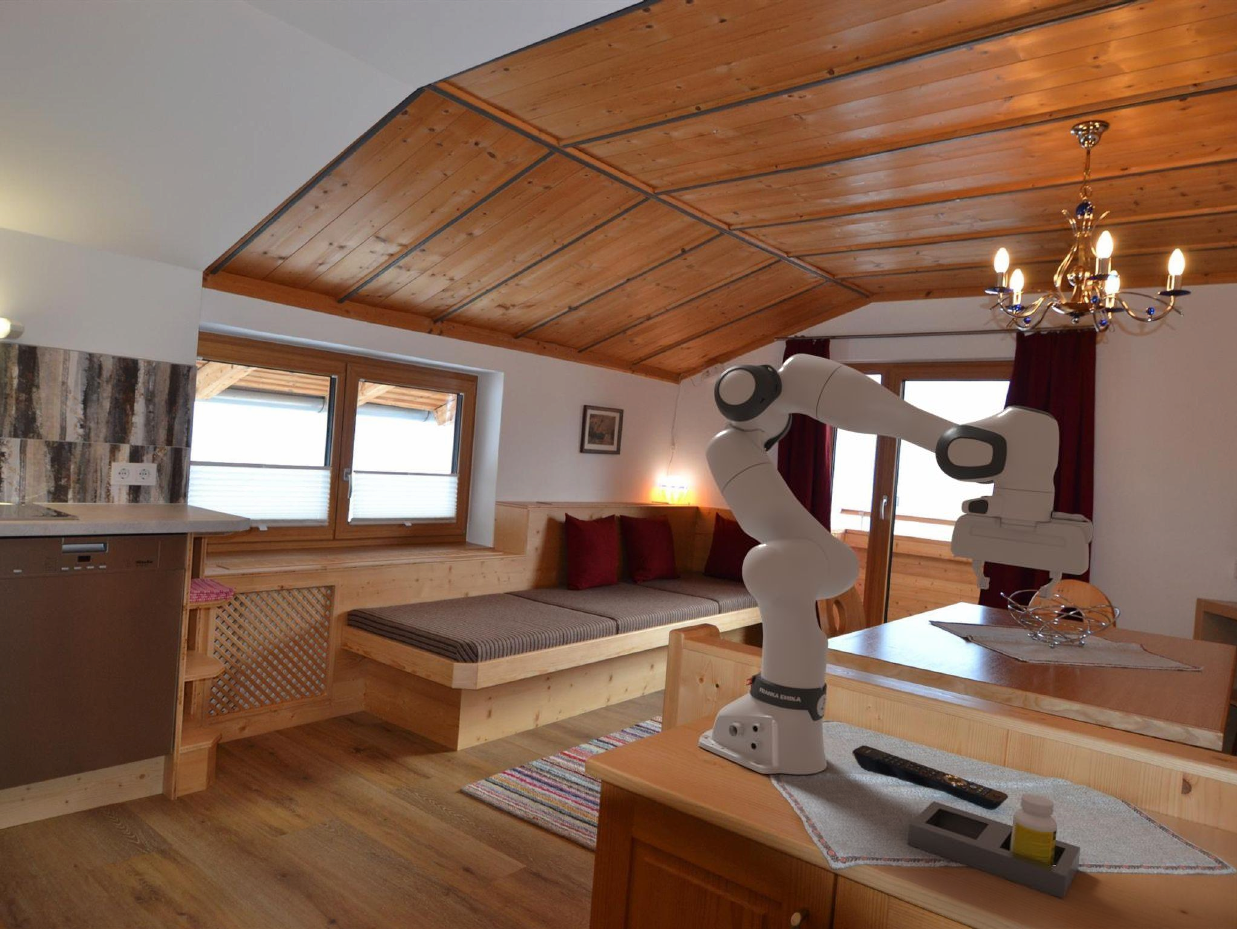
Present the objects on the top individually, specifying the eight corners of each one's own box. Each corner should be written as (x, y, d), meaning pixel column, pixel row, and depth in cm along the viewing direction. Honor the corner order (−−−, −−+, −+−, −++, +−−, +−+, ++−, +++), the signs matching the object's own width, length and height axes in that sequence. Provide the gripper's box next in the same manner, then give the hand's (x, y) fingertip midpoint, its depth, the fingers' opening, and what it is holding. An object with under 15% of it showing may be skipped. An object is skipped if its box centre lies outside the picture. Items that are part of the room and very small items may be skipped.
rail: (907, 844, 124) (909, 823, 124) (931, 820, 133) (933, 801, 132) (1063, 899, 112) (1065, 876, 112) (1078, 868, 121) (1080, 847, 121)
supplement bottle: (1057, 883, 116) (1065, 810, 116) (1014, 876, 117) (1021, 804, 117) (1045, 863, 121) (1052, 794, 121) (1003, 857, 122) (1010, 788, 122)
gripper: (1098, 515, 136) (1088, 603, 137) (962, 500, 149) (954, 581, 149) (1091, 516, 131) (1082, 607, 132) (952, 501, 144) (943, 584, 144)
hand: (1013, 593), depth 141 cm, fingers open, 8 cm apart
